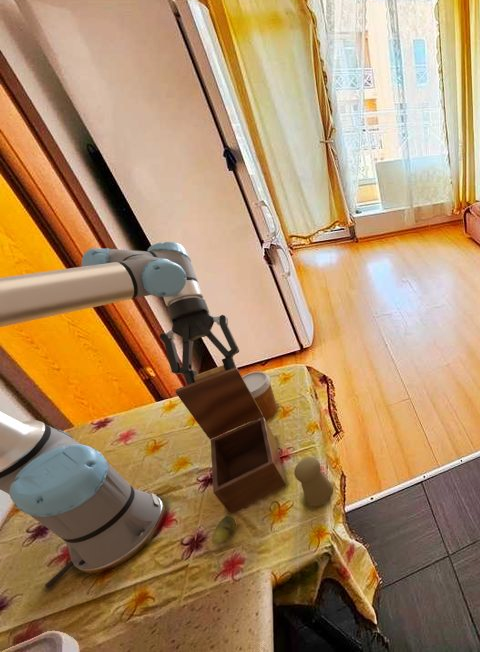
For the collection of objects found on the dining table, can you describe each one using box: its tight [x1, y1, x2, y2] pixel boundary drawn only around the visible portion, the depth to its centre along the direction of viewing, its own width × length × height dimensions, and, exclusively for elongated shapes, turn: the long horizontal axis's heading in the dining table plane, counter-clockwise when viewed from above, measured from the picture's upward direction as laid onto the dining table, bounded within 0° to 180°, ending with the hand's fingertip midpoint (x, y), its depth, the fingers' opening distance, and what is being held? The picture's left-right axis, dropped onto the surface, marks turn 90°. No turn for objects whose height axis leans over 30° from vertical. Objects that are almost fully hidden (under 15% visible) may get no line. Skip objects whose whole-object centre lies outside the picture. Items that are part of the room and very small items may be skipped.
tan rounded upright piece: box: [294, 456, 334, 507], centre depth 80 cm, size 6×6×11 cm
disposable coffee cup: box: [241, 371, 278, 421], centre depth 102 cm, size 10×10×12 cm
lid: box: [174, 364, 263, 440], centre depth 86 cm, size 17×12×6 cm
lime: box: [211, 515, 238, 545], centre depth 75 cm, size 4×5×5 cm
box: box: [210, 417, 287, 515], centre depth 86 cm, size 16×12×9 cm
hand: (218, 390), depth 85 cm, fingers closed on lid, 6 cm apart
